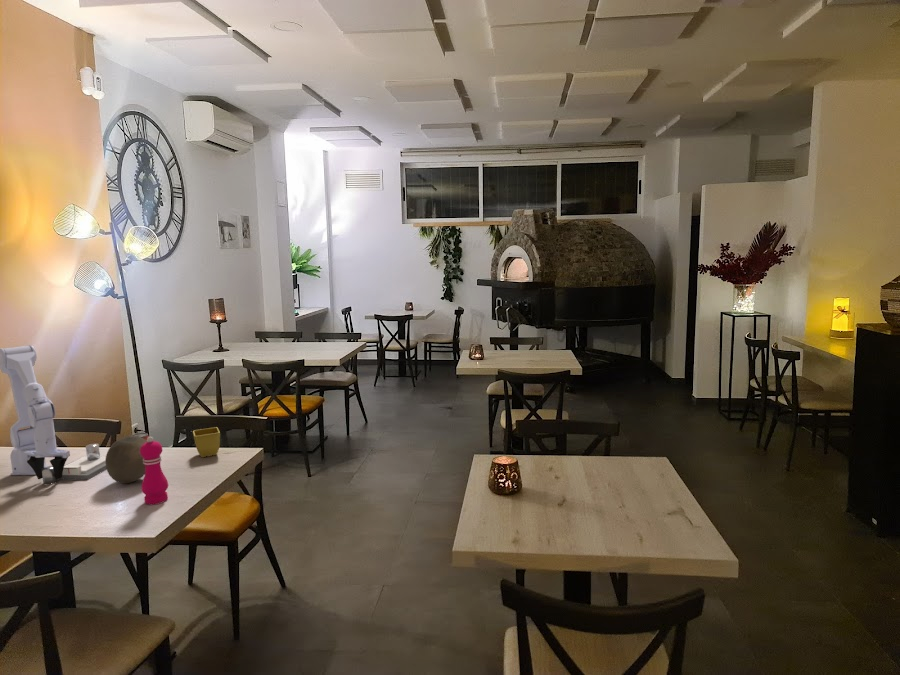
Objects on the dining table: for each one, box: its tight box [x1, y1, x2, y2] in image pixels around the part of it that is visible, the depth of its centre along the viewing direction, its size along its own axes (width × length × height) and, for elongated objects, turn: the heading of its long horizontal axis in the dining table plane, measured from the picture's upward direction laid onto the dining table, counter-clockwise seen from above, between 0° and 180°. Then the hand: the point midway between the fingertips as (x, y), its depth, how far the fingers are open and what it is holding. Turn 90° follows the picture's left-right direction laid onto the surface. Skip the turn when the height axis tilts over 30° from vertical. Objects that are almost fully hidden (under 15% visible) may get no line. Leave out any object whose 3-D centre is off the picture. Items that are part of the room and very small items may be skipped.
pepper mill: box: [140, 436, 169, 505], centre depth 179 cm, size 7×7×20 cm
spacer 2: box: [85, 443, 101, 461], centre depth 212 cm, size 4×4×5 cm
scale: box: [58, 456, 107, 480], centre depth 208 cm, size 15×17×4 cm
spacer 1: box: [41, 465, 59, 485], centre depth 197 cm, size 4×4×5 cm
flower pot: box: [192, 426, 221, 458], centre depth 220 cm, size 9×9×9 cm
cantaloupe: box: [105, 435, 147, 484], centre depth 195 cm, size 14×14×15 cm
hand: (50, 478), depth 197 cm, fingers open, 6 cm apart
